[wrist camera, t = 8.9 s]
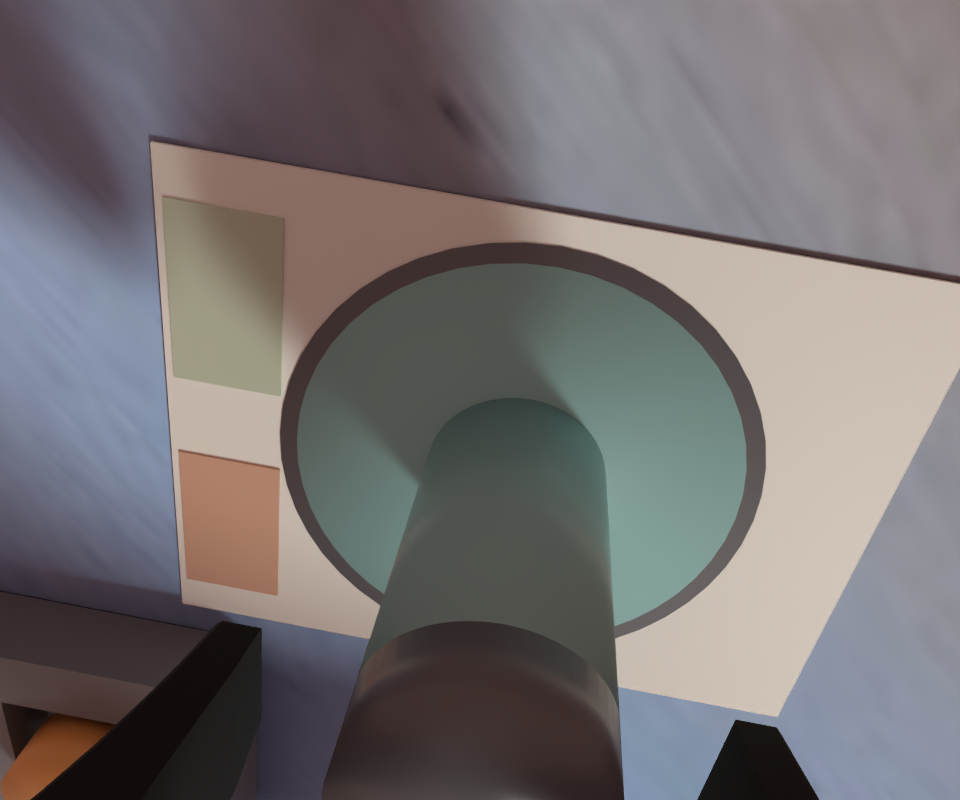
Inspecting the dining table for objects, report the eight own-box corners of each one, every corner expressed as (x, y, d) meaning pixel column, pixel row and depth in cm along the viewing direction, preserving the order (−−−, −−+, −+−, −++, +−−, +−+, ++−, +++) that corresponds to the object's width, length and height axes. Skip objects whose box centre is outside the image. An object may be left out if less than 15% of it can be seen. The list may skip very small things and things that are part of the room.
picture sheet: (776, 714, 20) (777, 719, 20) (183, 600, 20) (181, 604, 20) (997, 289, 14) (1001, 292, 14) (152, 140, 14) (148, 142, 14)
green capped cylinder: (584, 559, 18) (589, 930, 11) (419, 528, 18) (317, 875, 11) (625, 416, 16) (661, 756, 9) (437, 382, 16) (328, 692, 9)
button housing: (257, 812, 25) (233, 875, 23) (20, 765, 25) (-22, 824, 23) (257, 640, 21) (227, 701, 19) (-26, 586, 21) (-80, 641, 19)
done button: (165, 802, 22) (138, 857, 21) (47, 779, 22) (12, 832, 21) (157, 724, 20) (127, 778, 19) (29, 699, 21) (-11, 751, 19)
